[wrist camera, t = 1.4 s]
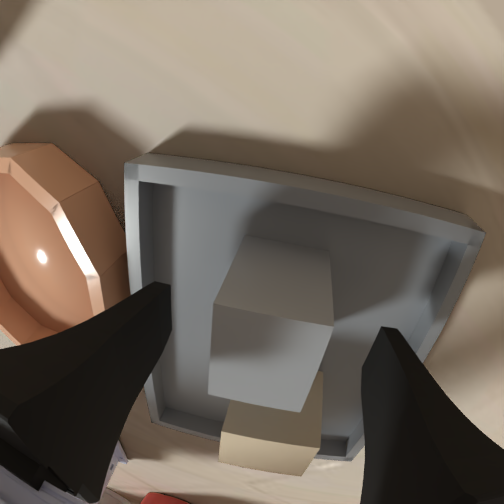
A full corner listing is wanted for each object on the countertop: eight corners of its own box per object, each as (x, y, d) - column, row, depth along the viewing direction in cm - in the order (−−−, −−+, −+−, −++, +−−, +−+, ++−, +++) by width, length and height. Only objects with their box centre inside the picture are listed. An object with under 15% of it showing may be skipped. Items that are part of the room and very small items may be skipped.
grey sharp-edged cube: (306, 331, 14) (300, 412, 10) (234, 317, 14) (207, 394, 10) (329, 251, 12) (334, 327, 8) (245, 235, 12) (213, 303, 8)
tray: (350, 439, 18) (351, 461, 17) (160, 402, 20) (151, 422, 18) (466, 214, 11) (485, 232, 9) (147, 153, 12) (124, 162, 10)
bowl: (144, 363, 18) (124, 397, 15) (7, 308, 19) (-15, 329, 17) (130, 146, 12) (90, 162, 10) (-27, 144, 13) (-61, 157, 11)
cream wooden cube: (323, 371, 15) (320, 448, 11) (307, 408, 16) (300, 476, 12) (242, 357, 15) (221, 431, 11) (236, 395, 17) (218, 461, 13)
